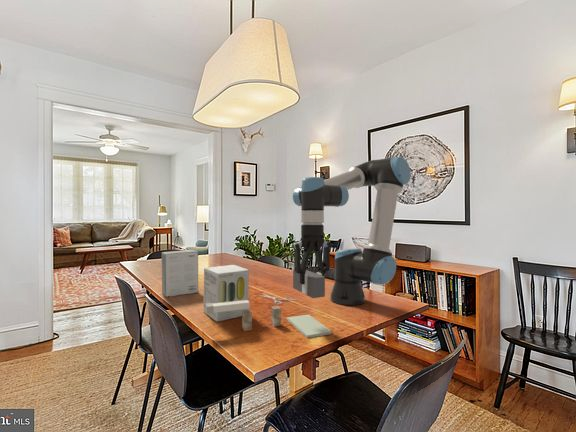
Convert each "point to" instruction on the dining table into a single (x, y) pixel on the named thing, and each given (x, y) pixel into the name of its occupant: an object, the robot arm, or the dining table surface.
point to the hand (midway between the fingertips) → (311, 292)
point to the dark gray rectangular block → (311, 284)
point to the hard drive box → (179, 272)
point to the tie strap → (226, 306)
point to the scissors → (277, 298)
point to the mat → (308, 326)
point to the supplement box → (225, 288)
